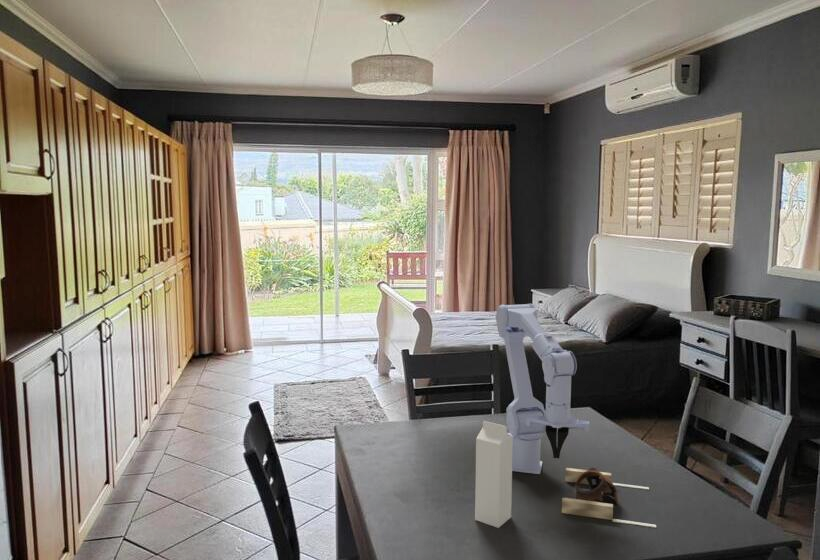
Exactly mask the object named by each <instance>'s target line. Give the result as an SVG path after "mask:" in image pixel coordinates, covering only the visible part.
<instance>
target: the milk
mask: <svg viewBox="0 0 820 560" xmlns="http://www.w3.org/2000/svg"><path fill="white" fill-rule="evenodd" d="M508 433H509V432H508V428H507V425H503V424H499V423H494V422H489V421H486V420H483V422H482V428H481V430H480V431H479V433H478V434H477V437H476V439H475V487H474V488H475V491H474V492H475V493H474V494H475V495H474V498H475V499H474V500H475V501H474V520H475V521H477V522H480V523H482V524H483V523H484V524H486V525H488V526H492V527H495V528H497V529H499V528H500V527H501V526H503V525H504V524H505V523H506V522H508V520H510V519H511V518H512V497H513V496H512V495H513V493H512V492H513V491H512V490H513V488H512V487H513V471H512V452H513V436H511V435H509V434H508Z"/></svg>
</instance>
